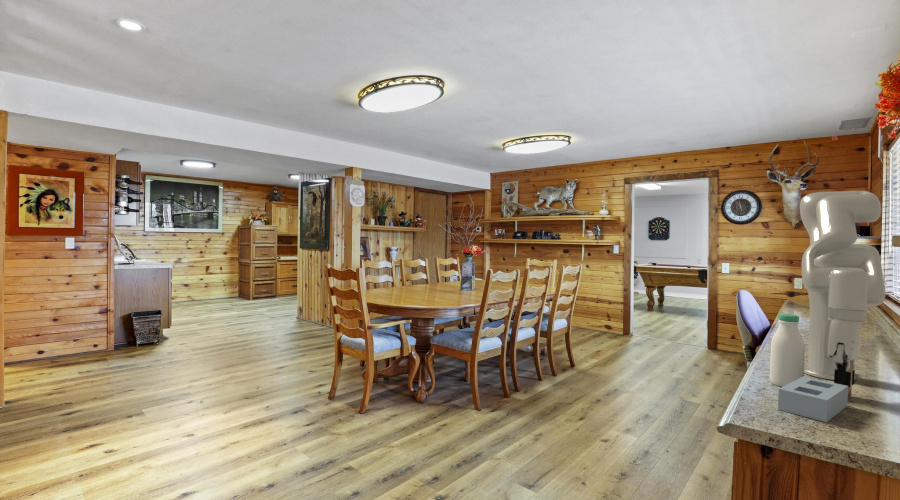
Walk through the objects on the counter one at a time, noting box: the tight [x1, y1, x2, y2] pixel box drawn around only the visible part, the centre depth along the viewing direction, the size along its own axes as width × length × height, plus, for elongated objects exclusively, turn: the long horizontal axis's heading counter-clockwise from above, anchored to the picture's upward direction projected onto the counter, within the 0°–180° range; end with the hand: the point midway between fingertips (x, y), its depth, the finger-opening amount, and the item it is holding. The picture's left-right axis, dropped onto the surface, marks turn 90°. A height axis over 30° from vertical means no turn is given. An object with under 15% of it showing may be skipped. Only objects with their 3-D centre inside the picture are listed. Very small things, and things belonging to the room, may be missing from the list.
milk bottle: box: [769, 313, 806, 388], centre depth 124 cm, size 8×8×20 cm
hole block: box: [777, 376, 849, 423], centre depth 107 cm, size 18×9×5 cm, turn 127°
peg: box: [843, 357, 854, 399], centre depth 116 cm, size 3×3×10 cm
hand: (844, 384), depth 116 cm, fingers closed on peg, 3 cm apart
